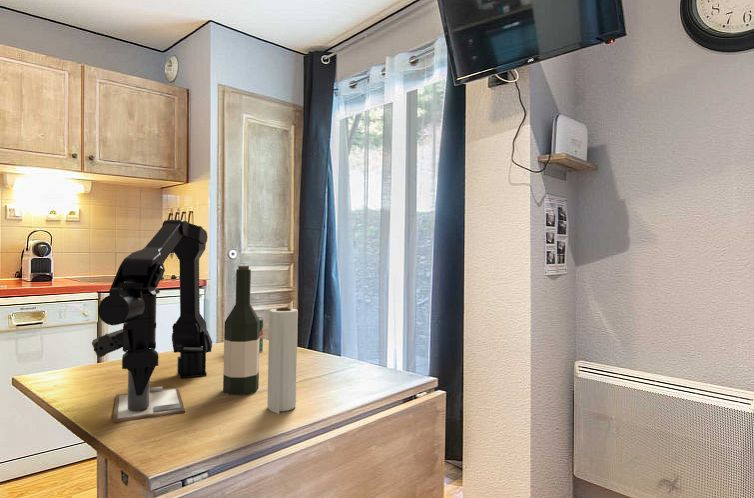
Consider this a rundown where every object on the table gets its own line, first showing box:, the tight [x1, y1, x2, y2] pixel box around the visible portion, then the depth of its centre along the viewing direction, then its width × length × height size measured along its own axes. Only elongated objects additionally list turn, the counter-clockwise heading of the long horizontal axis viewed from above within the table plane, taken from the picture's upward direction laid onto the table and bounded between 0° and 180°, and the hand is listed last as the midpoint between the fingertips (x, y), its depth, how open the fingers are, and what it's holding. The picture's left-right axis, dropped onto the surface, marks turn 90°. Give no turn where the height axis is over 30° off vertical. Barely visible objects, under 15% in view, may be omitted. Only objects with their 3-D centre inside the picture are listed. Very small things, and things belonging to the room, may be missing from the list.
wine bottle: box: [222, 265, 260, 396], centre depth 111 cm, size 8×8×30 cm
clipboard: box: [112, 385, 186, 423], centre depth 100 cm, size 13×17×1 cm
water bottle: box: [127, 370, 151, 410], centre depth 96 cm, size 4×4×10 cm
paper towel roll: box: [266, 307, 299, 416], centre depth 100 cm, size 7×6×21 cm
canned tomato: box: [258, 316, 264, 354], centre depth 152 cm, size 8×8×11 cm
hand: (139, 392), depth 96 cm, fingers closed on water bottle, 4 cm apart
